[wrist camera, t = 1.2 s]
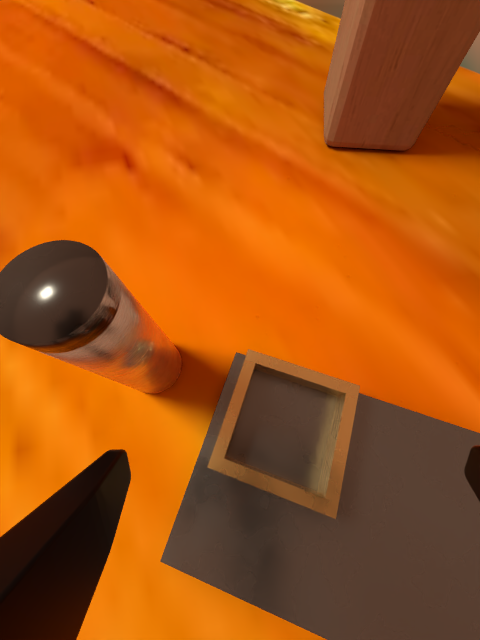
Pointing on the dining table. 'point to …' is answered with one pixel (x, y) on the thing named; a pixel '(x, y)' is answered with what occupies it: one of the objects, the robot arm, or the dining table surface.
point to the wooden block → (393, 68)
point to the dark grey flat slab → (333, 509)
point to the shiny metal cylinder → (84, 316)
